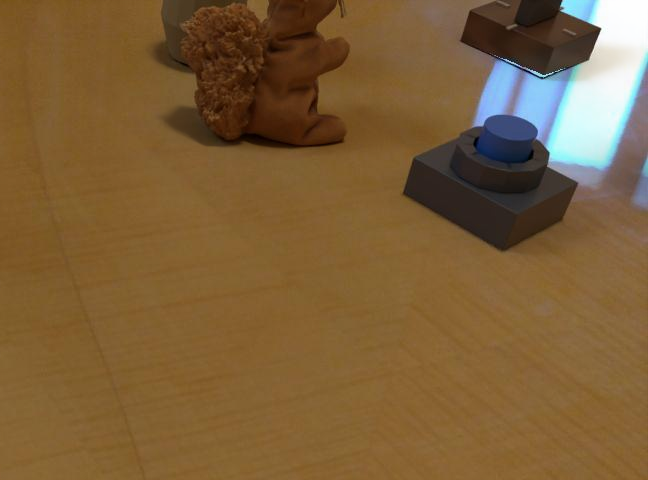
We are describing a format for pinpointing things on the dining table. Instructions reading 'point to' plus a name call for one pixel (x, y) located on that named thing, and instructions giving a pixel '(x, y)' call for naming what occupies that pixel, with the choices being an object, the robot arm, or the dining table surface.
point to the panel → (530, 37)
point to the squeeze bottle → (184, 19)
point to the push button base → (490, 190)
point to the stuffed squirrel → (264, 70)
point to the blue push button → (507, 139)
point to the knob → (536, 11)
